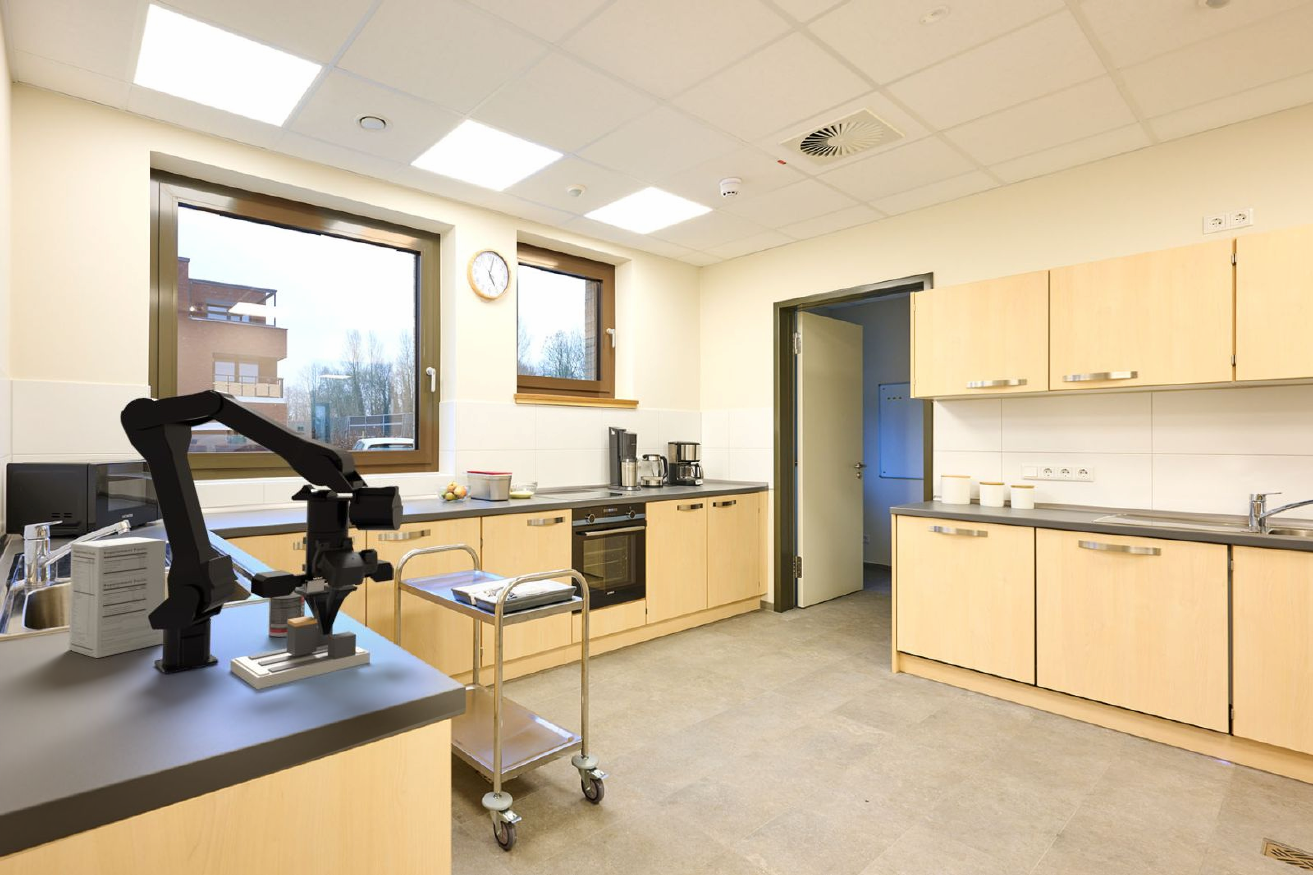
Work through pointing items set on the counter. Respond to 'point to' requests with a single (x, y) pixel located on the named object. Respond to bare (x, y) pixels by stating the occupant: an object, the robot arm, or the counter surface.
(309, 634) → the block
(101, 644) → the supplement box
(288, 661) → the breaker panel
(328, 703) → the counter surface
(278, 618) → the pill bottle
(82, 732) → the counter surface
